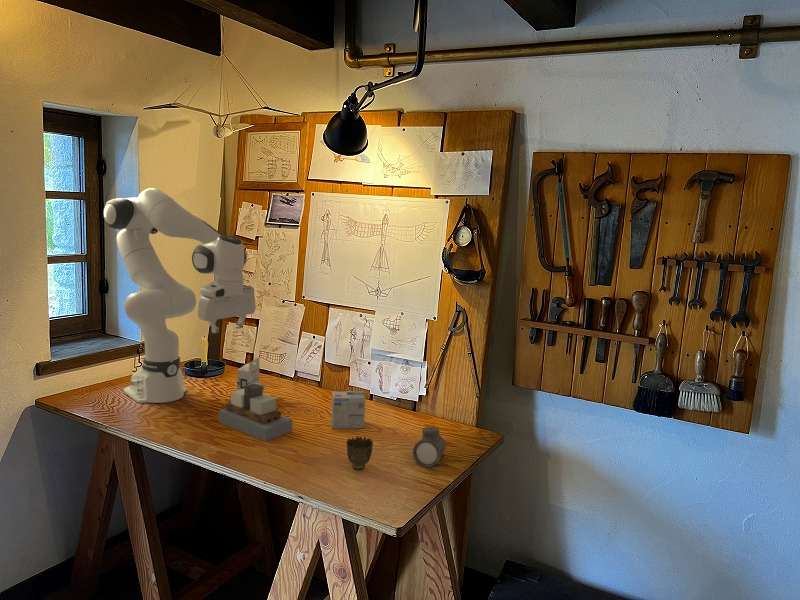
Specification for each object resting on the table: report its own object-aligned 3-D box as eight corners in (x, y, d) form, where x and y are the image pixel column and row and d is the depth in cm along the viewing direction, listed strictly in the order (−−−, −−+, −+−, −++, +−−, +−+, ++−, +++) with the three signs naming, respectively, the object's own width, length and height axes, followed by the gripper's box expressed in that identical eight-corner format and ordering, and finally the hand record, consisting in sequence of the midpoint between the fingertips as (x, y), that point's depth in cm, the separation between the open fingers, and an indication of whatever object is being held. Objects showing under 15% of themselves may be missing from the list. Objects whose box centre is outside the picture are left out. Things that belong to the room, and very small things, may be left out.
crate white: (231, 403, 200) (231, 391, 200) (245, 399, 205) (246, 387, 204) (241, 407, 198) (241, 395, 197) (256, 403, 202) (256, 391, 202)
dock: (218, 422, 201) (218, 410, 200) (245, 413, 210) (245, 402, 209) (265, 441, 189) (265, 429, 188) (291, 431, 198) (292, 419, 197)
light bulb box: (362, 421, 210) (364, 390, 208) (364, 428, 203) (366, 397, 201) (330, 421, 208) (331, 390, 206) (331, 429, 201) (333, 397, 200)
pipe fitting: (438, 470, 176) (439, 434, 175) (411, 466, 179) (412, 430, 178) (450, 458, 187) (451, 424, 187) (425, 455, 190) (426, 421, 189)
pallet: (225, 409, 202) (226, 381, 200) (242, 404, 207) (243, 377, 205) (263, 424, 191) (264, 395, 190) (280, 418, 197) (281, 390, 195)
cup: (345, 462, 178) (346, 435, 177) (371, 462, 179) (372, 436, 177) (345, 474, 171) (346, 446, 169) (372, 474, 172) (373, 447, 170)
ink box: (246, 393, 229) (247, 355, 227) (259, 395, 228) (260, 356, 226) (236, 401, 221) (236, 361, 218) (249, 402, 220) (249, 362, 217)
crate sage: (250, 410, 195) (250, 398, 195) (264, 406, 200) (264, 394, 199) (261, 415, 192) (261, 402, 192) (275, 410, 197) (275, 398, 197)
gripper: (247, 283, 206) (246, 323, 209) (195, 289, 190) (194, 333, 193) (260, 286, 203) (258, 327, 206) (208, 293, 186) (207, 337, 189)
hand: (227, 330), depth 199 cm, fingers open, 8 cm apart
